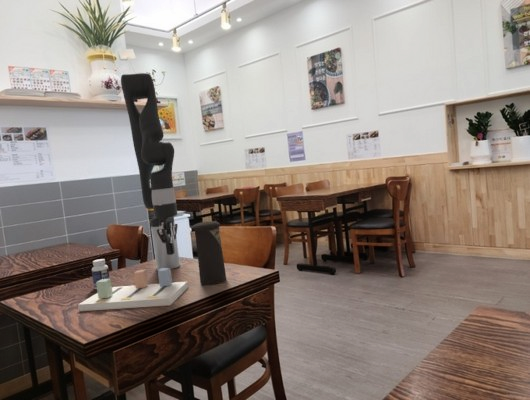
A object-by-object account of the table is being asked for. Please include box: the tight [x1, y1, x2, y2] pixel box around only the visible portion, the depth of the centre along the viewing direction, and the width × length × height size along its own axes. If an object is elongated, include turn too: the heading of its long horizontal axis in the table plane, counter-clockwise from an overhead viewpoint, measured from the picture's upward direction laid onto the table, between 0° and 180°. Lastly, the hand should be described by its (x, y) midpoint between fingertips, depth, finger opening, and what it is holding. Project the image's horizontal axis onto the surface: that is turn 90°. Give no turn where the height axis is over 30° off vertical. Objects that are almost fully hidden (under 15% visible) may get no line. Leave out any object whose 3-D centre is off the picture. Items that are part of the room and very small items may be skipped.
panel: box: [77, 281, 189, 312], centre depth 124 cm, size 16×28×2 cm, turn 83°
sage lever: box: [96, 278, 113, 299], centre depth 122 cm, size 3×3×5 cm
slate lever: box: [157, 268, 173, 286], centre depth 128 cm, size 3×3×5 cm
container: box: [192, 220, 227, 286], centre depth 134 cm, size 9×9×20 cm
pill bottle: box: [91, 258, 111, 290], centre depth 143 cm, size 5×5×10 cm
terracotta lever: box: [133, 269, 149, 288], centre depth 129 cm, size 3×3×5 cm
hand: (170, 254), depth 135 cm, fingers closed
